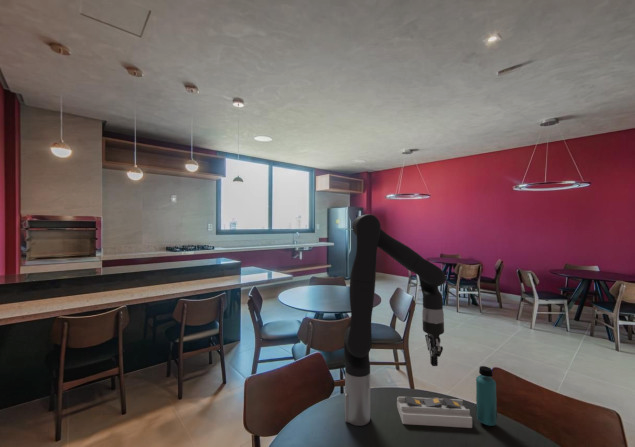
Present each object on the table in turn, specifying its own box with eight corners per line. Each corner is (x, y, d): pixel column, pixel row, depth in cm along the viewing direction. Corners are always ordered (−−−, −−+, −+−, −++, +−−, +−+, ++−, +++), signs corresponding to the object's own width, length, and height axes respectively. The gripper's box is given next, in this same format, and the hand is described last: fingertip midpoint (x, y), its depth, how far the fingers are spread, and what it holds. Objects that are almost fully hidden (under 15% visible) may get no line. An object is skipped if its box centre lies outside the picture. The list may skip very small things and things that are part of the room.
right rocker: (446, 406, 104) (447, 403, 104) (442, 399, 108) (443, 396, 108) (461, 411, 103) (461, 408, 103) (456, 403, 108) (456, 401, 108)
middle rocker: (427, 409, 104) (427, 406, 104) (424, 402, 108) (423, 399, 109) (441, 406, 104) (441, 403, 104) (437, 399, 108) (437, 396, 108)
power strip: (402, 423, 102) (402, 409, 102) (397, 406, 112) (397, 393, 112) (472, 427, 100) (472, 413, 100) (460, 409, 110) (460, 396, 110)
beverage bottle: (500, 431, 98) (500, 373, 99) (479, 429, 100) (479, 371, 100) (492, 419, 105) (492, 364, 105) (473, 416, 106) (472, 362, 106)
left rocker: (407, 404, 105) (408, 401, 105) (404, 397, 109) (405, 395, 109) (421, 409, 104) (422, 406, 104) (418, 402, 109) (419, 399, 109)
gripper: (417, 313, 115) (418, 357, 114) (428, 325, 101) (429, 374, 101) (436, 313, 114) (437, 357, 114) (450, 325, 101) (451, 374, 101)
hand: (434, 365), depth 107 cm, fingers closed
